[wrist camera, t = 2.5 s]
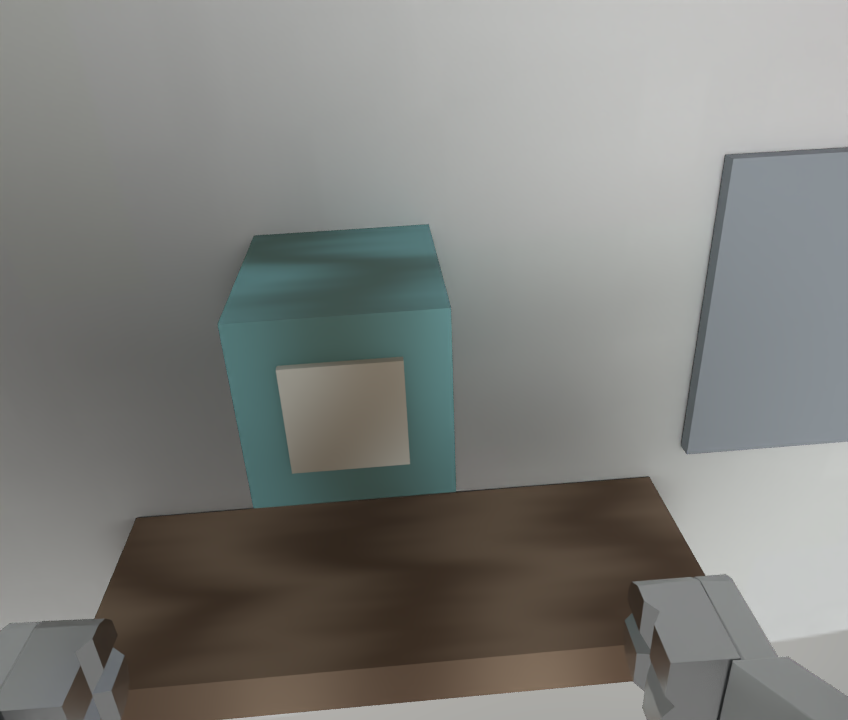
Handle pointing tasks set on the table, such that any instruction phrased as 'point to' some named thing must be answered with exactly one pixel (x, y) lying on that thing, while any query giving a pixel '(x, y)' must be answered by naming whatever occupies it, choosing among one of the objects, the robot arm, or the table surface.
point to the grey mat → (774, 307)
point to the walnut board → (385, 598)
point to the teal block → (342, 366)
